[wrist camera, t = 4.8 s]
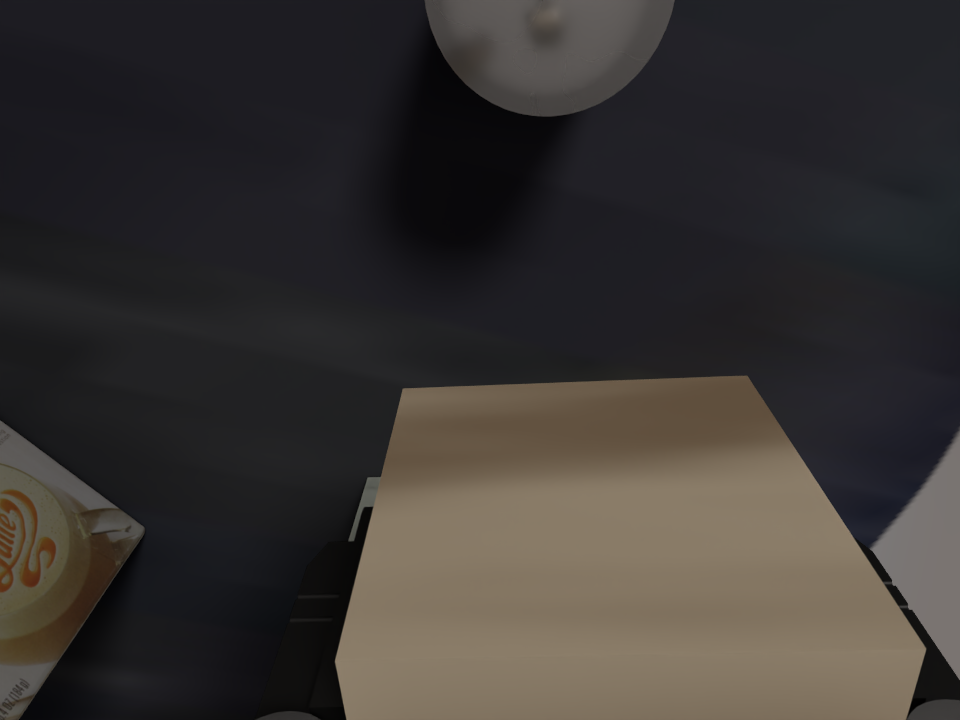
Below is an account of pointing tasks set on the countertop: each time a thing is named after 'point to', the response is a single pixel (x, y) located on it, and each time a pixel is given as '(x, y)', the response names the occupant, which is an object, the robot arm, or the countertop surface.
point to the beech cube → (613, 565)
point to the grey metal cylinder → (547, 48)
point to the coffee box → (49, 563)
